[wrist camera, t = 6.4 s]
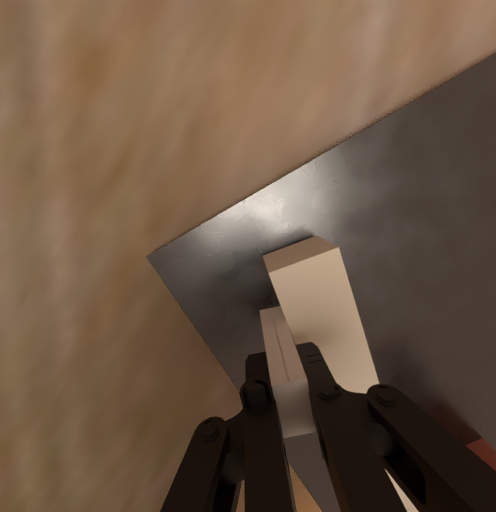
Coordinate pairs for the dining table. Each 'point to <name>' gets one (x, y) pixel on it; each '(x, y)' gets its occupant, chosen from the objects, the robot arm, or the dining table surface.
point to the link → (325, 313)
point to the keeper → (484, 452)
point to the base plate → (373, 259)
